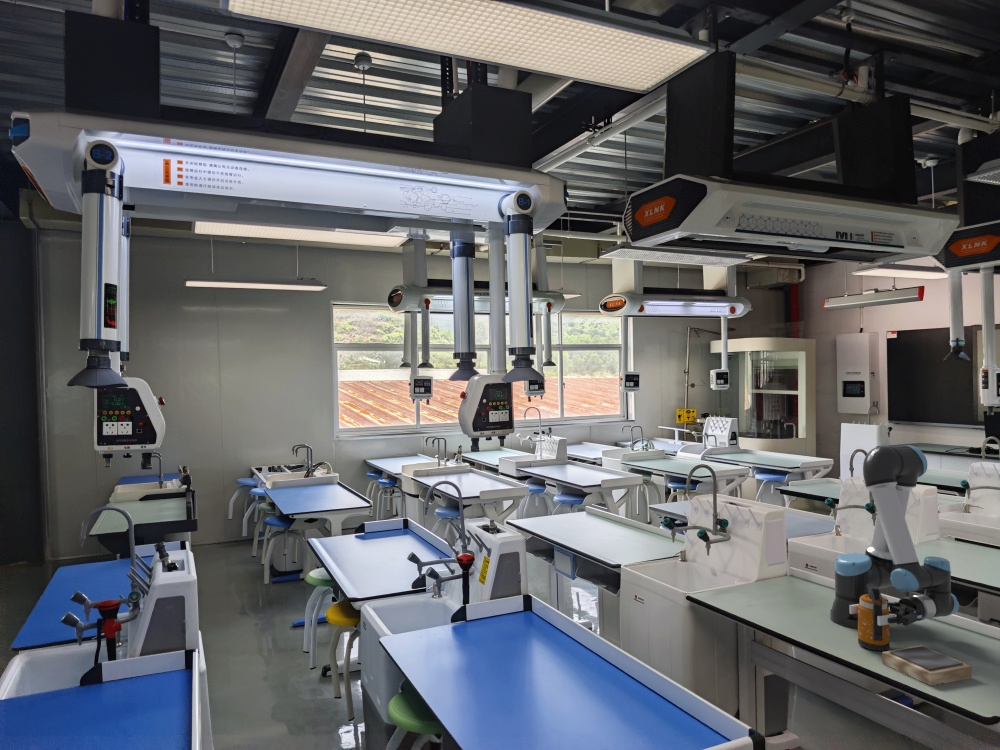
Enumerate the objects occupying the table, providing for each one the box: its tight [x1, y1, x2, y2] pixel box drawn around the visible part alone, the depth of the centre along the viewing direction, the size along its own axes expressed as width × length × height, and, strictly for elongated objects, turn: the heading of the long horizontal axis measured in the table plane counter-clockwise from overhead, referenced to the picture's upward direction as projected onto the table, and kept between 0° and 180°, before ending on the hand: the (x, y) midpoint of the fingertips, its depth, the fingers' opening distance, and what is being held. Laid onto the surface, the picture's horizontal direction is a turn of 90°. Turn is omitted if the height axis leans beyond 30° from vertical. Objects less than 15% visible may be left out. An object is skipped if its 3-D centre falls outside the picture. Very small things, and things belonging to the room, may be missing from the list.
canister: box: [857, 584, 890, 651], centre depth 215 cm, size 9×11×20 cm
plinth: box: [881, 645, 973, 686], centre depth 198 cm, size 16×16×4 cm
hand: (864, 615), depth 214 cm, fingers open, 10 cm apart
